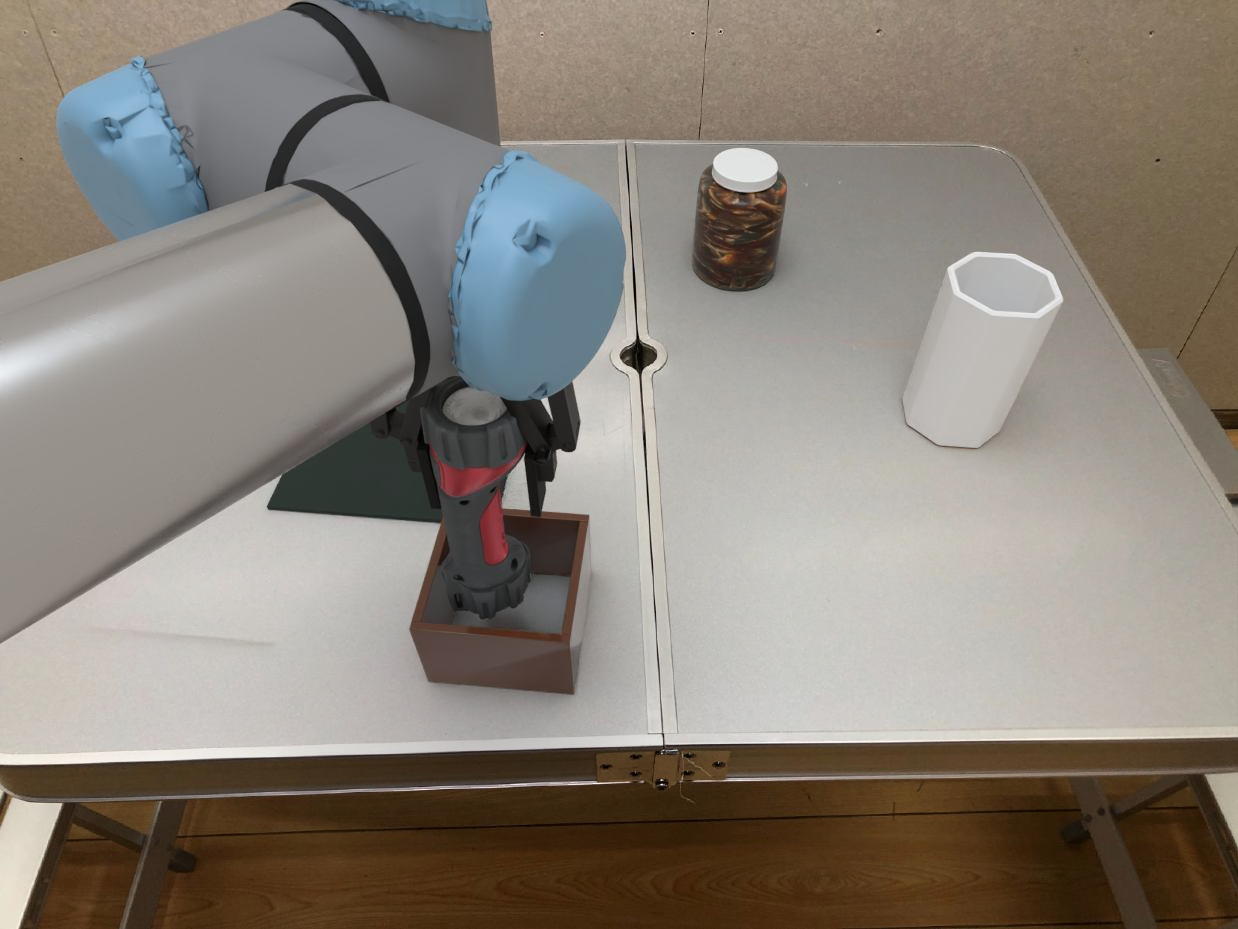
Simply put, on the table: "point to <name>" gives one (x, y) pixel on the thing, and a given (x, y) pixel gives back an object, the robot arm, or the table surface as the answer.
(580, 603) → the brown open box
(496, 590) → the flashlight
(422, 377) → the robot arm
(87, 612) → the table surface
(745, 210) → the jar
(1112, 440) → the table surface
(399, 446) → the mat
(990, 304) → the cup
